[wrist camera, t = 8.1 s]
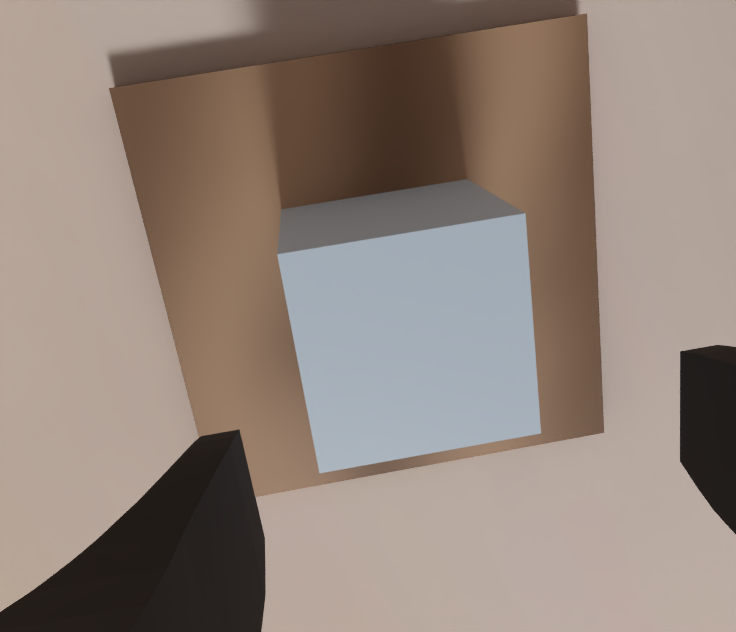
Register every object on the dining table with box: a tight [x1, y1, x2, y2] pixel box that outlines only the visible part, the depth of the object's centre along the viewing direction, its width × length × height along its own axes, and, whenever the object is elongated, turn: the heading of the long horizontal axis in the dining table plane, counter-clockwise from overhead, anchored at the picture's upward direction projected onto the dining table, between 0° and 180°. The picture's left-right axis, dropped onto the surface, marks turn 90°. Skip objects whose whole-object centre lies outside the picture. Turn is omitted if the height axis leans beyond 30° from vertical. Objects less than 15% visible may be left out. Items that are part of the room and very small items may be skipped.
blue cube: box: [277, 179, 541, 473], centre depth 17 cm, size 5×5×5 cm
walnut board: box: [109, 14, 604, 497], centre depth 20 cm, size 12×12×1 cm
